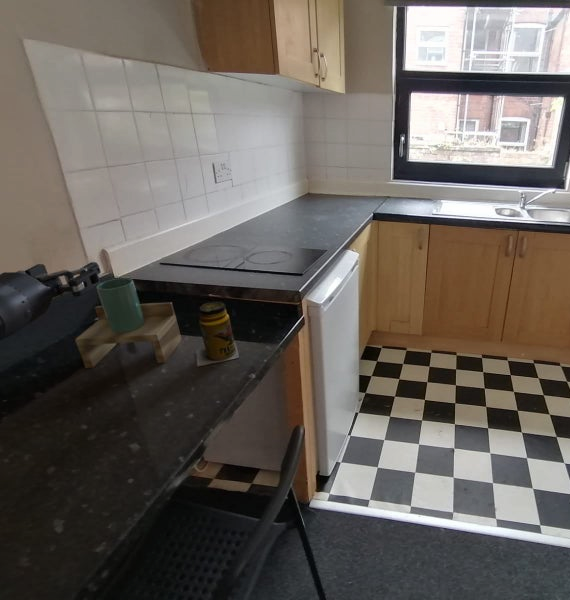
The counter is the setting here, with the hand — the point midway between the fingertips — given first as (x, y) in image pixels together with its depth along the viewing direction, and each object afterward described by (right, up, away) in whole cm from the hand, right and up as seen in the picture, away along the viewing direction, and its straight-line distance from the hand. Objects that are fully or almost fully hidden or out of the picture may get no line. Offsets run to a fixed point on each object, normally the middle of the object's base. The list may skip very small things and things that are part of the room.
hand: (70, 268), depth 71 cm
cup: (-1, -11, +17) cm, 20 cm away
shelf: (-1, -18, +20) cm, 27 cm away
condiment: (+17, -18, +19) cm, 32 cm away
